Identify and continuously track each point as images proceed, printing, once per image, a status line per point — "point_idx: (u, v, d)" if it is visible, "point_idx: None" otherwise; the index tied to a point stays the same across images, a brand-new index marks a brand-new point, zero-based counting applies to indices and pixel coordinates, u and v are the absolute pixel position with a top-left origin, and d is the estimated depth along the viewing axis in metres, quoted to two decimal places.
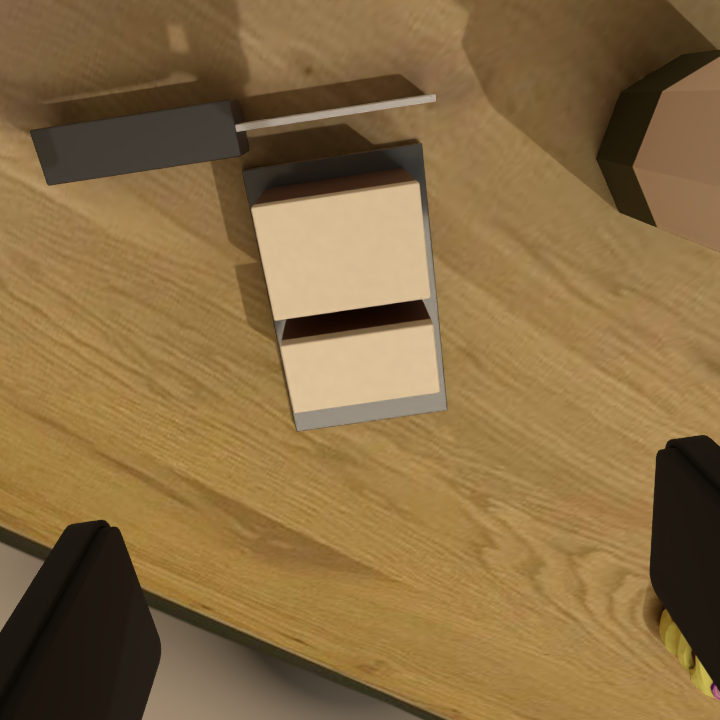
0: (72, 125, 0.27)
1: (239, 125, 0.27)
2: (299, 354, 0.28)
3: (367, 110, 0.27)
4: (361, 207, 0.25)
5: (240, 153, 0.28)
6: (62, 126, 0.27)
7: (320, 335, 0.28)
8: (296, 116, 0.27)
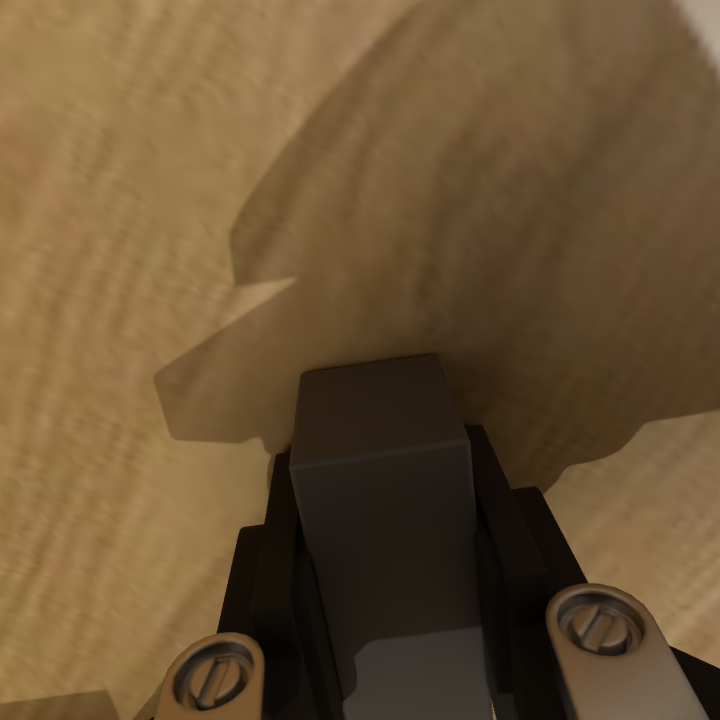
0: (475, 559, 0.09)
1: None
2: None
3: None
4: None
5: None
6: (474, 529, 0.09)
7: None
8: None
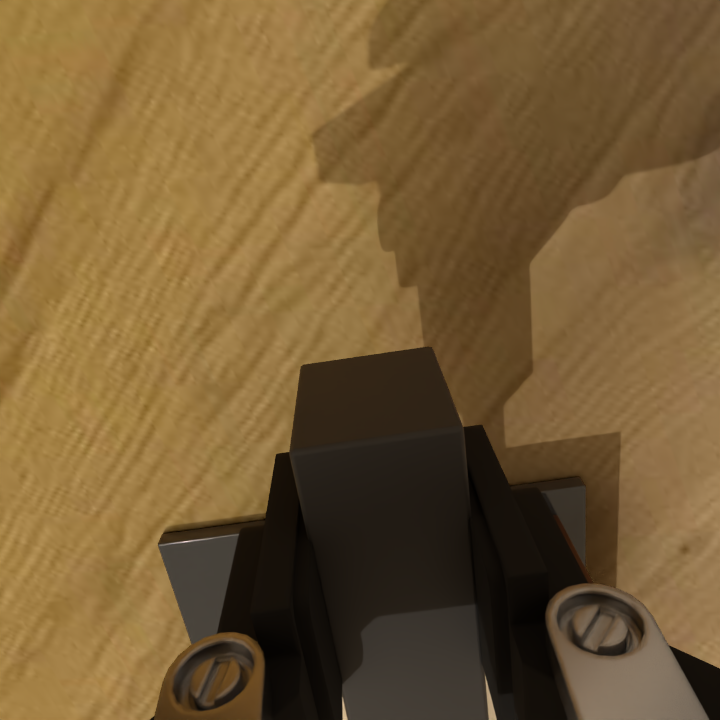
0: (469, 543, 0.09)
1: None
2: None
3: None
4: None
5: None
6: (468, 514, 0.09)
7: None
8: None
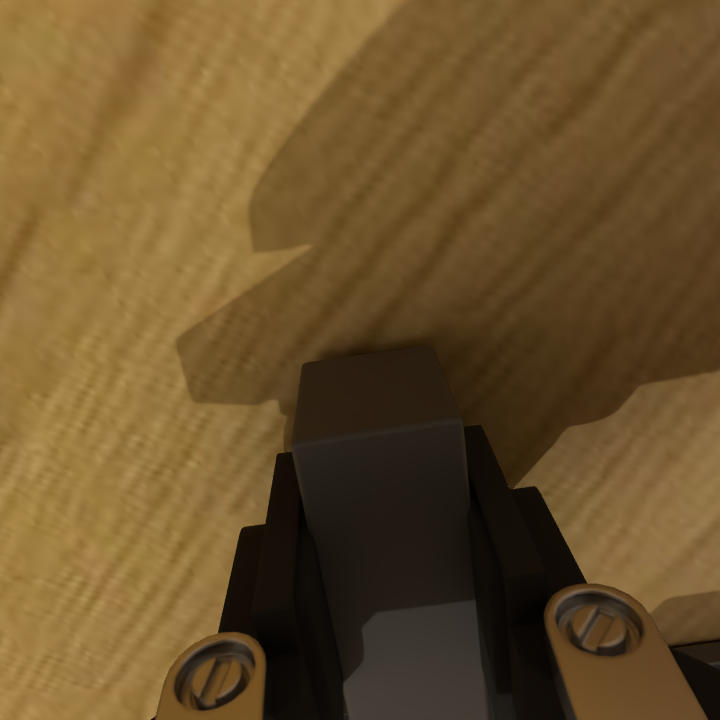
0: (469, 536, 0.09)
1: None
2: None
3: None
4: None
5: None
6: (467, 507, 0.09)
7: None
8: None
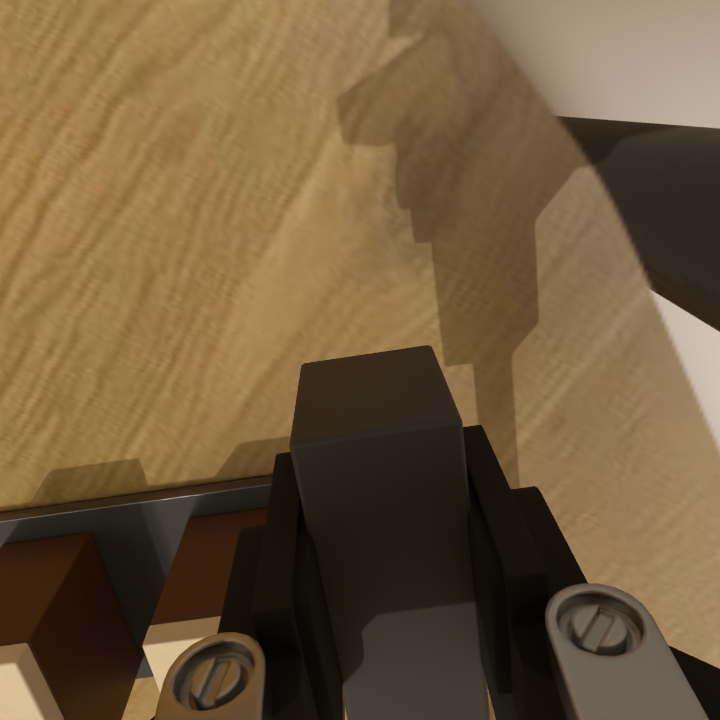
0: (469, 537, 0.09)
1: None
2: (7, 684, 0.18)
3: None
4: None
5: None
6: (467, 507, 0.09)
7: (47, 684, 0.20)
8: None
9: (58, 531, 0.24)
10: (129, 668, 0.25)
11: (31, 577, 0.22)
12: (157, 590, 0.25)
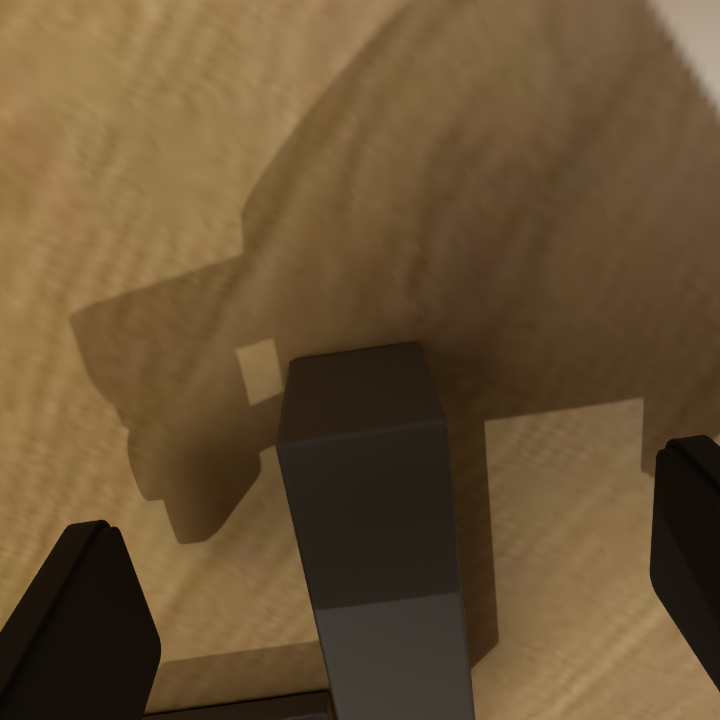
0: (453, 535, 0.09)
1: None
2: None
3: None
4: None
5: None
6: (451, 506, 0.09)
7: None
8: None
9: None
10: None
11: None
12: None
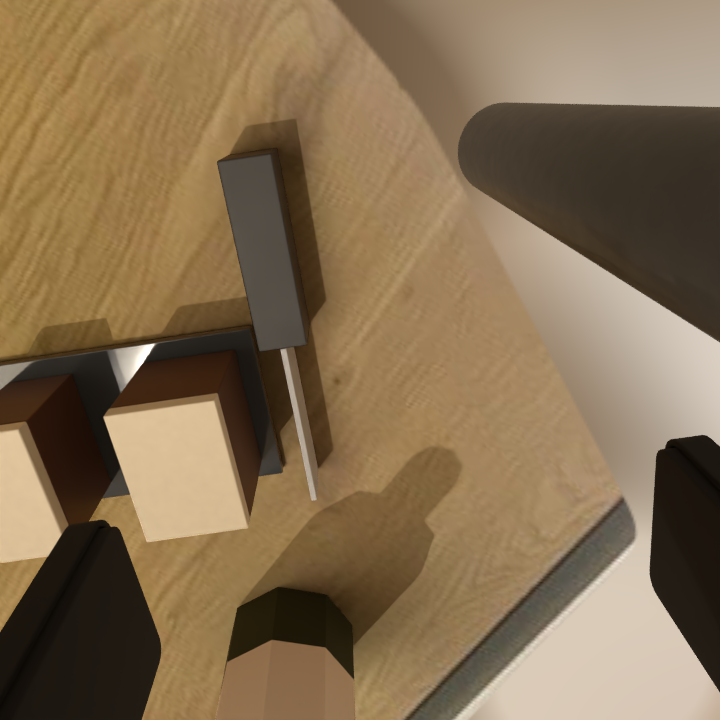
0: (278, 199, 0.27)
1: (285, 352, 0.30)
2: (13, 446, 0.27)
3: (302, 453, 0.32)
4: (223, 488, 0.29)
5: (261, 350, 0.30)
6: (277, 188, 0.27)
7: (39, 455, 0.28)
8: (295, 399, 0.31)
9: (48, 373, 0.32)
10: (101, 481, 0.34)
11: (28, 395, 0.30)
12: None
